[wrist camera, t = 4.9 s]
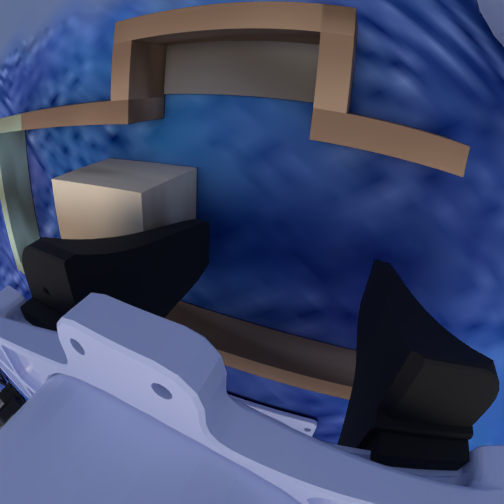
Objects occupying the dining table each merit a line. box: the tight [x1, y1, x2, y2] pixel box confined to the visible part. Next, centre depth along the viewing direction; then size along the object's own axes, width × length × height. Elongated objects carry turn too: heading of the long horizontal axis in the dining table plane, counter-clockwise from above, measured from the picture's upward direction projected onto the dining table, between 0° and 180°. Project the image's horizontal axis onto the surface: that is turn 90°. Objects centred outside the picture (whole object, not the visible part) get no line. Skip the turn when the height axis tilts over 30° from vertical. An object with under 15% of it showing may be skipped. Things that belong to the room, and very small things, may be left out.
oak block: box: [52, 158, 197, 239], centre depth 14 cm, size 6×6×4 cm
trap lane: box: [0, 2, 470, 400], centre depth 14 cm, size 19×26×2 cm
